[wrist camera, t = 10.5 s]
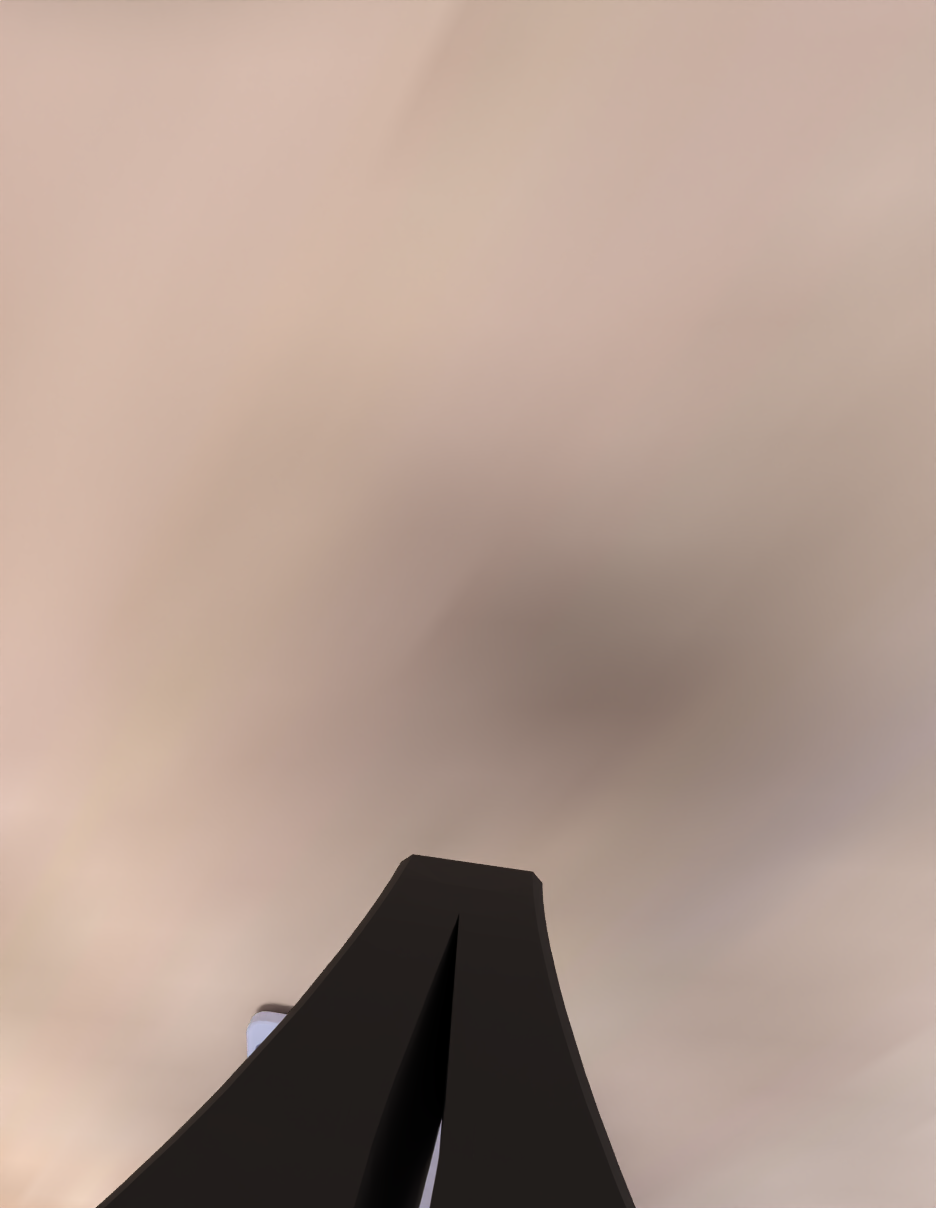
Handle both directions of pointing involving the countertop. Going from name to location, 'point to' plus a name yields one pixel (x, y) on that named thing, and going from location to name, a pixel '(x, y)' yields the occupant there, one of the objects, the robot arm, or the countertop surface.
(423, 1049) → the robot arm
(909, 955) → the countertop surface
